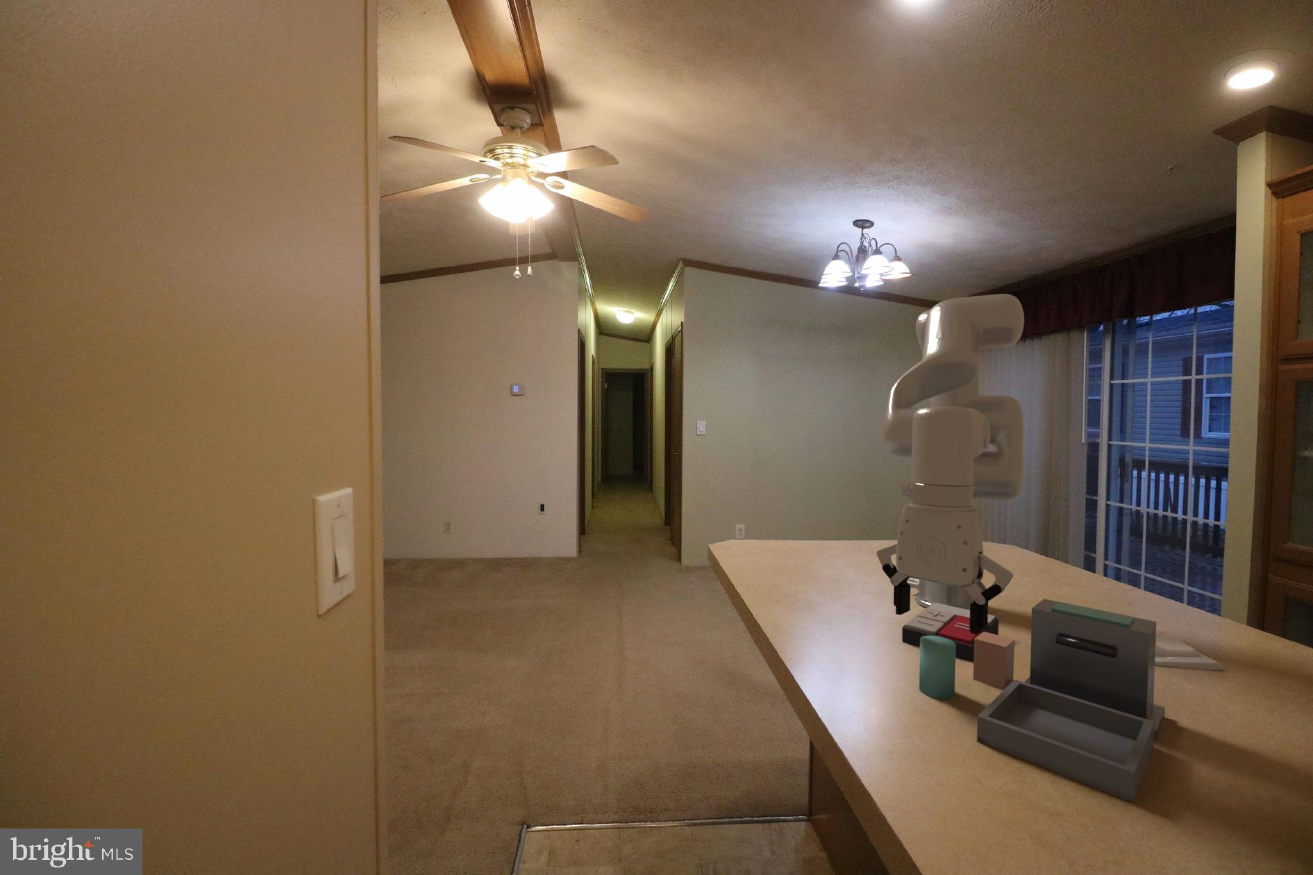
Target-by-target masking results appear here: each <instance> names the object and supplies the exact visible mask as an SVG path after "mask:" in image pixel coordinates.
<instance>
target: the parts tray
mask: <svg viewBox="0 0 1313 875" xmlns="http://www.w3.org/2000/svg"><path fill="white" fill-rule="evenodd" d="M1002 690H1003V691H1001V692H1000V693H999V695H998V696H996V697H995V698H994V699H993V700H992V701H991V702H989V704H988V705H987V706H986V707H985V708H984V709H983V710H982V711H981V712H980V713H979V714H978V715H977V724H976V725H977V730H976V733H977V734H976V742H977V743H981V744H983V745H986V746H988V747H991V748H992V749H995V750H998V751H1000V752H1004V753H1006V754H1009V755H1010V756H1013V757H1016V758H1018V759H1021V760H1023V761H1025V762H1028V763H1030V764H1034V765H1036V766H1038V767H1041V768H1044V769H1047V770H1049V771H1052V772H1054V773H1056V774H1059V775H1062V776H1064V777H1065V778H1066V777H1067V778H1070V779H1072V780H1074V781H1077V782H1079V783H1081V784H1085V785H1086V786H1087V785H1088V786H1089V787H1092V788H1095V789H1096V790H1099V791H1103V792H1104V793H1107V794H1110V795H1113V796H1114V797H1118V798H1120V799H1123V800H1125V801H1128V802H1129V803H1133V804H1134V802H1135V799H1136V797H1137V794H1138V791H1139V788H1140V785H1141V783H1142V780H1143V777H1144V774H1145V772H1146V769H1147V766H1148V763H1149V760H1150V757H1151V756H1152V753H1153V751H1154V744H1155V740H1154V722H1153V721H1150V720H1147V719H1144V718H1140V717H1137V716H1134V715H1130V714H1127V713H1124V712H1121V711H1117V710H1114V709H1111V708H1107V707H1104V706H1101V705H1098V704H1094V703H1091V702H1088V701H1084V700H1081V699H1078V698H1075V697H1071V696H1068V695H1065V694H1061V693H1058V692H1055V691H1052V690H1048V689H1045V688H1042V687H1038V686H1035V685H1032V684H1029V683H1025V681H1021V680H1018V679H1013V681H1012V682H1011V683H1010V684H1009V685H1008V686H1007V687H1006V688H1005V689H1002Z"/></svg>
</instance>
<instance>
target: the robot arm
mask: <svg viewBox="0 0 1313 875" xmlns="http://www.w3.org/2000/svg"><path fill="white" fill-rule="evenodd" d="M1024 326H1025V314H1024V310H1023V306H1022V304H1021V302H1020V300H1019V299H1018V298H1017V297H1016V296H1014V295H1012V294H1009V293H999V294H996V293H995V294H987V295H986V294H985V295H975V296H964V297H955V298H949V299H946V300H945V299H944V300H942V301H939V302H938V303H937V304H935V305H934V306H933V307H931V309H928V310H926V311H923V312H922V313H920V314H919V315H918V317H917V319H916V322H915V332H916V338H917V342H918V344H919V348H920V350H921V354H922V355H921V356H922V358H921V361H920V362H918V363H916V364H915V365H913V366H912V367H911V368H910V369H908V370H907V371H906V372H905V373H904V374H903V375H901V377H899V378H898V379H897V380H896V382H895V383H894V384H893V385H892V388H891V389H890V391H889V393H888V397H887V400H886V404H885V411H884V418H883V424H882V441H883V444H884V447H885V448H886V450H887V451H888V452H889V453H890V454H891V455H894V456H897V457H903V458H904V457H906V458H907V457H908V458H911V470H910V471H911V472H910V473H911V474H910V476H911V477H910V479H911V481H910V482H909V484H908V485H902V486H901V491H900V492H901V494H902V495H903V496H907V497H908V499H909V501H910V503H905V504H904V506H903V509H902V513H901V517H900V522H899V528H898V534H897V541H896V542H897V543H896V544H893V545H890V546H888V547H883V548H882V549H879V550H877V551H876V556H877V558H878V561H879V563H880V565H881V569H882V572H883V573H885V574H884V575H886V576H887V578H888V579H889V580H890V581H889V582H890V584H891V585H892V586H893V606H894V607H895V614H896V615H898V616H901V615H904V614H906V613H908V612H910V611H911V589H913V588H914V589H916V590H917V592H916V593H915V602H916V603H917V604H918V605H920V606H922V607H924V608H925V609H926V608H928V607H929V606H930V605H931V604H933V603H940V604H944V605H948V606H953V607H957V608H962V609H966V610H970V632H971V633H972V634H975V635H976V634H978V633H979V632H981V631H982V630H983V629H984V628H986V627H987V624H988V614H989V602H990V601H992V599H993V600H994V598H996V597H997V596H999V595H1000V594H1001V593H1003V592H1005V589H1006V588H1007V586H1008V585H1009V584H1010V582H1011V581H1012V580H1013V577H1014V573H1013V572H1012V571H1010V570H1009V569H1007V568H1006V567H1004V566H1002V565H1000V564H999V563H998V562H996V561H994V560H993V559H991V558H989V557H988V556H987V555H985V554H984V543H983V542H984V541H983V533H982V527H981V521H980V520H981V519H980V516H979V513H978V510H977V509H976V508H973V499H975V500H977V499H978V500H979V499H980V500H991V501H1011V500H1014V499H1016V498H1018V496H1019V495H1020V493H1021V491H1022V486H1023V475H1024V474H1023V472H1024V469H1023V468H1024V414H1023V410H1022V406H1021V404H1020V402H1019V401H1018V399H1016V398H1014V397H1012V396H1009V395H981V394H980V392H979V387H980V386H979V383H980V382H979V381H980V372H979V371H980V367H981V363H980V362H981V360H980V359H981V358H980V357H981V350H990V349H994V350H995V349H1009V348H1012V347H1013V346H1015V345H1016V344H1017V343H1018V342H1019V341H1020V339H1021V337H1022V334H1023V331H1024ZM928 399H930V406H927V407H926V406H925V407H914V406H915V405H918V404H919V403H921V402H924V401H925V400H928ZM990 445H991V446H993V447H995V448H994V449H996V450H994V451H991V450H990V451H989V450H986V449H987V448H988V447H989V446H990ZM893 555H895V564H894V563H893V562H892V556H893ZM984 570H985V571H986V572H988V573H989V574H992V575H993V577H995V579H994V581H993V583H992V585H990V586H989V587H987V586H986V585H985V584H984V582H983V581H982V580H983V578H984V572H985V571H984Z"/></svg>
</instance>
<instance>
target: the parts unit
mask: <svg viewBox="0 0 1313 875" xmlns="http://www.w3.org/2000/svg"><path fill="white" fill-rule="evenodd" d="M1030 628H1031V629H1030V662H1029V663H1030V664H1029V667H1030V668H1029V676H1028V678H1027V679H1025V681H1024V682H1025V683H1029V684H1032V685H1035V686H1038V687H1042V688H1045V689H1048V690H1052V691H1055V692H1058V693H1061V694H1065V695H1068V696H1071V697H1075V698H1078V699H1081V700H1084V701H1088V702H1091V703H1094V704H1098V705H1101V706H1104V707H1107V708H1111V709H1114V710H1117V711H1121V712H1124V713H1127V714H1130V715H1134V716H1137V717H1140V718H1144V719H1147V720H1150V721H1153V722H1154V742H1155V741H1157V739H1158V737H1159V733H1160V730H1161V729H1162V725H1163V722H1164V720H1165V715H1166V714H1165V713H1166V706H1165V707H1164V706H1162V705H1161V706H1160V705H1158V704H1155V703H1154V701H1155V700H1154V698H1155V697H1154V696H1155V676H1156V675H1155V674H1156V673H1155V670H1156V666H1155V647H1156V636H1157V621H1155V620H1150V619H1145V618H1140V617H1135V616H1131V615H1126V614H1123V613H1122V614H1121V613H1117V612H1113V611H1106V610H1102V609H1097V608H1092V607H1089V606H1088V607H1087V606H1082V605H1077V604H1074V603H1073V604H1072V603H1067V602H1062V601H1056V600H1051V599H1047V598H1043V599H1042V600H1040V601H1039V602H1037V603H1036V604H1035V605H1034V606H1032V608H1031V627H1030Z"/></svg>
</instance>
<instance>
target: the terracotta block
mask: <svg viewBox="0 0 1313 875" xmlns="http://www.w3.org/2000/svg"><path fill="white" fill-rule="evenodd" d="M1014 667H1015V639H1014V638H1009V637H1005V636H1003V635H999V634H998V635H995V634H991V633H987V632H983V633H981V634H980V635H979V636H977V637H976V638H974V661H973V671H972V673H973V675H972V679H973V680H974V681H978V682H980V683H984V684H987V685H990V686H993V687H997V688H999V689H1000V688H1001V689H1002V690H1004V689H1005V688H1006V687H1007V686H1008V685H1009V684H1010V683H1012V682H1013V681H1014V672H1015V671H1014Z"/></svg>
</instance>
